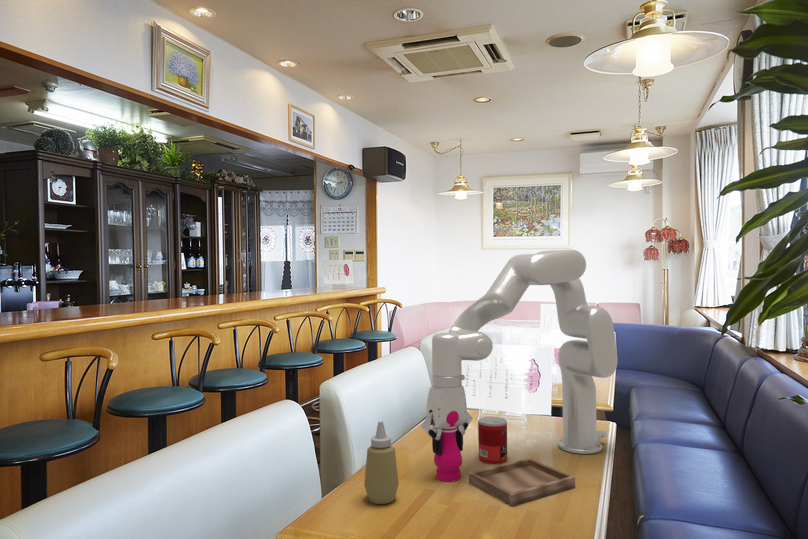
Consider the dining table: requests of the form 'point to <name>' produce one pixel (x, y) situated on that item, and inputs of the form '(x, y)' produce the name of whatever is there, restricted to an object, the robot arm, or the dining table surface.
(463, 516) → the dining table surface
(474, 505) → the dining table surface
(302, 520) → the dining table surface
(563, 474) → the walnut tray
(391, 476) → the squeeze bottle
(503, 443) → the canned food
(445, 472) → the pepper mill
